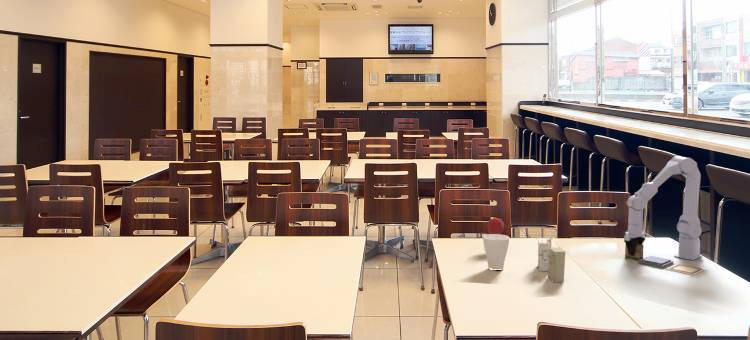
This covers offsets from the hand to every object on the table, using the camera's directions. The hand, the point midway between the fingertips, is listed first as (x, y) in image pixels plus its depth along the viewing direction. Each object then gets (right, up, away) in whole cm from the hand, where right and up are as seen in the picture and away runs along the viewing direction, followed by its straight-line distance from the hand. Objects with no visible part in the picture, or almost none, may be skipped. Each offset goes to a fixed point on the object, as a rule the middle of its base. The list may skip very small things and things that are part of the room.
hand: (634, 254), depth 267 cm
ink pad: (+5, -3, -9) cm, 11 cm away
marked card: (+13, -4, -18) cm, 23 cm away
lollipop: (-57, -1, +16) cm, 59 cm away
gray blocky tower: (-43, -4, -14) cm, 45 cm away
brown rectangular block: (0, -2, 0) cm, 2 cm away
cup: (-63, -4, -14) cm, 64 cm away
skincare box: (-43, -6, -30) cm, 52 cm away
